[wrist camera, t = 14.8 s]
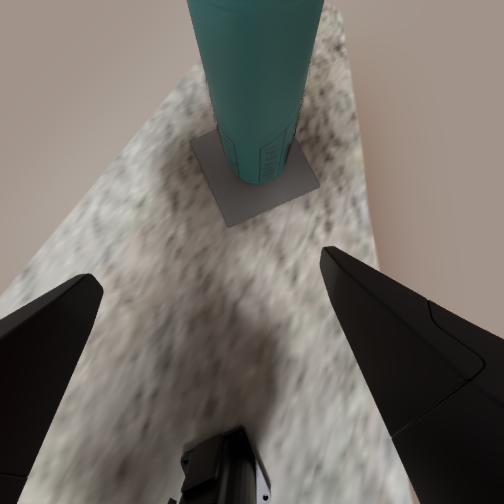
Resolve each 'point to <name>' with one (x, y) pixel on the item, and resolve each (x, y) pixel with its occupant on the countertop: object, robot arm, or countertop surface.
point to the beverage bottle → (256, 76)
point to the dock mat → (249, 194)
